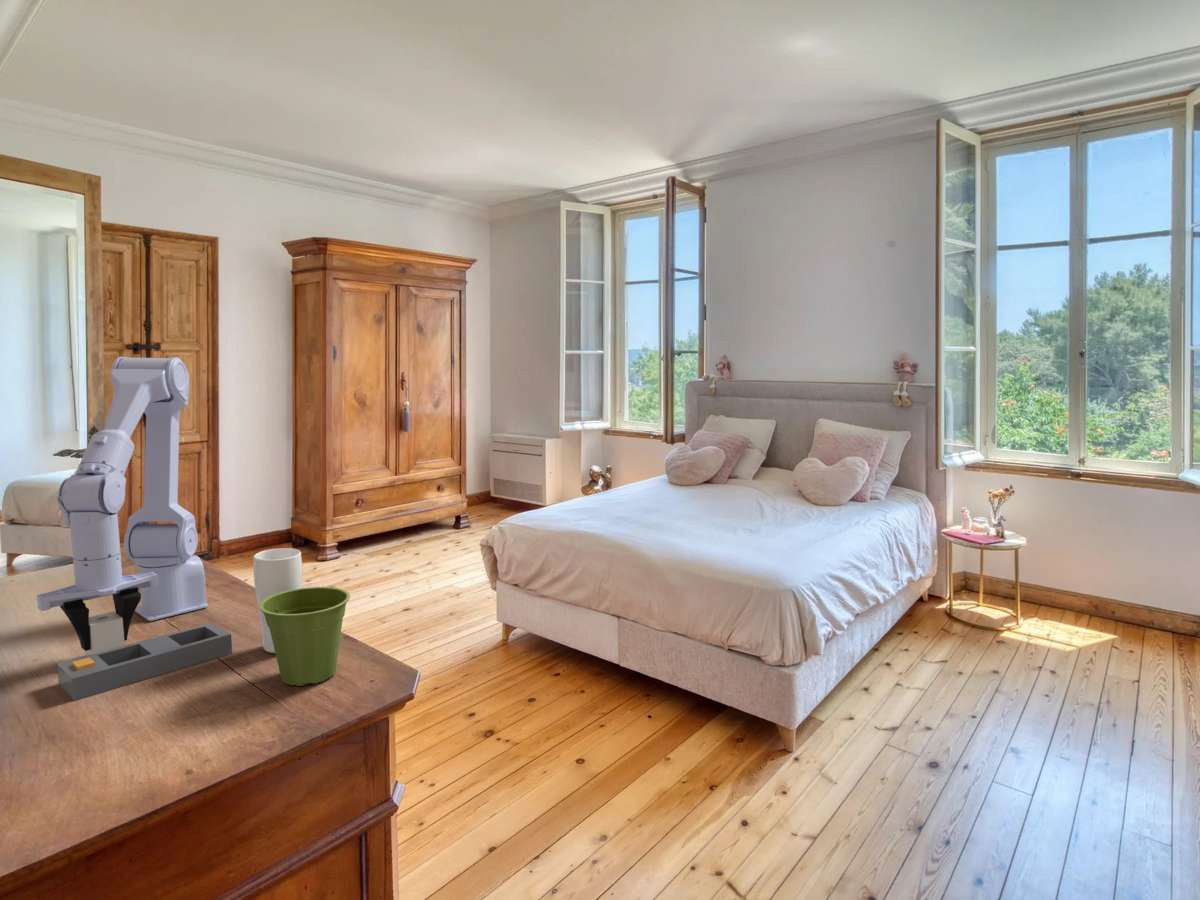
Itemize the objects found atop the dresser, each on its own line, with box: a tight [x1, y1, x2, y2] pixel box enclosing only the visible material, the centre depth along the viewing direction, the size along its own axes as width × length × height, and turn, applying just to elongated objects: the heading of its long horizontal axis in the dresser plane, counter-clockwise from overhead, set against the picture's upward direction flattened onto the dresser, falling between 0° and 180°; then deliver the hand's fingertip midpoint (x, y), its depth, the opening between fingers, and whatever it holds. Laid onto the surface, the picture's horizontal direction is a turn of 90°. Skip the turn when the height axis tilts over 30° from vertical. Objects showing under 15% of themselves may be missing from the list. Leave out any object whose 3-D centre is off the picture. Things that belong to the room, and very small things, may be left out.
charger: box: [84, 610, 126, 656], centre depth 106 cm, size 4×4×6 cm
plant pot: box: [259, 586, 351, 687], centre depth 101 cm, size 12×12×11 cm
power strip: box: [56, 622, 233, 701], centre depth 103 cm, size 20×7×4 cm, turn 140°
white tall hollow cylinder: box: [253, 547, 304, 654], centre depth 110 cm, size 7×7×15 cm
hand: (104, 643), depth 106 cm, fingers closed on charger, 4 cm apart
